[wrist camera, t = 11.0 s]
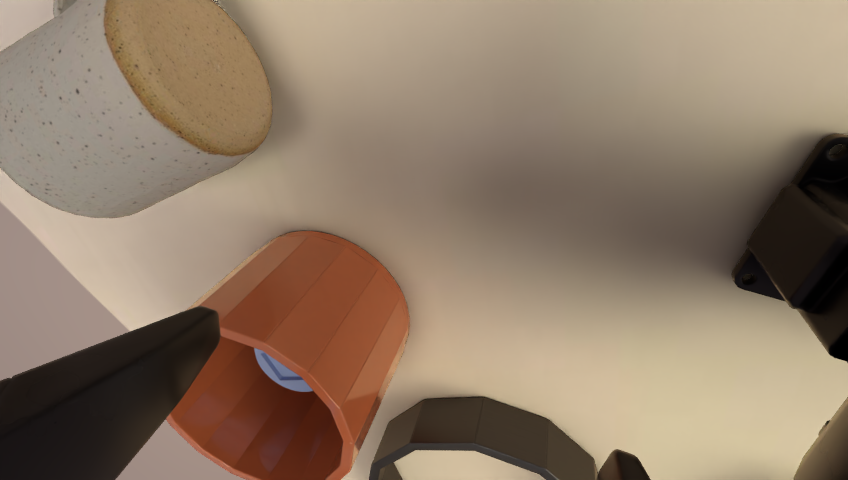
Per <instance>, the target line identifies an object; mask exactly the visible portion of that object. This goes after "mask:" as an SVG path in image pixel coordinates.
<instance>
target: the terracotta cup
mask: <svg viewBox="0 0 848 480" xmlns="http://www.w3.org/2000/svg"><path fill="white" fill-rule="evenodd" d="M197 306H205V307H208V308H211V309H213V310H216V311H217V312H218V315H219V324H220V334H221V337H220V341H219V344H218V346H217V348H216V349H215V351H214V352H213V354H212V355H211V356H210V358H209V359H208V361H207V362H206V364H205V365H204V367H203V368H202V370H201V371H200V373H199V374H198V376H197V377H196V379H195V380H194V382H193V383H192V385H191V386H190V388H189V389H188V390H187V392H186V393H185V395H184V396H183V398H182V399H181V400H180V402H179V403H178V404H177V406H176V407H175V408H174V409H173V411H172V412H171V413H170V414H169V416H168V417H167V418H166V420H167V421H168V423H169V424H170V425H171V426H172V427H173V428H174V429H175V430H176V431H177V432H178V433H179V434H180V435H181V436H182V437H183V438H184V439H185V440H186V441H187V442H188V443H189V444H190V445H191V446H192V447H194V448H195V449H196V450H197V451H198V452H199V453H201V454H202V455H204V456H205V457H207V458H208V459H210V460H212V461H213V462H214V463H216V464H218V465H219V466H221V467H222V468H224V469H225V470H227V471H229V472H230V473H232V474H234V475H236V476H239V477H241V478H244V479H246V480H341V479H342V478H343V477H344V476H345V475H346V474H348V473H349V472H350V470H351V468H352V466H353V464H354V462H355V459H356V457H357V455H358V453H359V450H360V448H361V446H362V444H363V442H364V439H365V437H366V435H367V433H368V430H369V428H370V426H371V424H372V421H373V419H374V417H375V415H376V412H377V410H378V408H379V406H380V404H381V401H382V399H383V397H384V395H385V392H386V390H387V388H388V386H389V383H390V381H391V379H392V377H393V375H394V372H395V370H396V368H397V366H398V363H399V361H400V359H401V357H402V354H403V351H404V346H405V344H406V342H407V338H408V335H409V328H410V320H409V312H408V307H407V304H406V301H405V298H404V296H403V294H402V292H401V290H400V288H399V286H398V284H397V283H396V281H395V280H394V278H393V277H392V276H391V274H390V273H389V272H388V271H387V270H386V268H385V267H384V266H383V265H382V264H381V263H380V262H379V261H378V260H376V259H375V258H374V257H373V256H371V255H370V254H369V253H368V252H366V251H365V250H363V249H362V248H360V247H358V246H357V245H355V244H353V243H351V242H349V241H347V240H345V239H342V238H340V237H337V236H334V235H331V234H327V233H322V232H315V231H297V232H290V233H287V234H284V235H280V236H278V237H276V238H274V239H272V240H271V241H270V242H268V243H267V244H266V245H265V246H263V247H262V248H260V249H259V250H257V251H255V252H254V253H253V254H252V255H251V256H249V257H248V258H247V259H246V260H245V261H244V262H242V263H241V264H240V265H239V266H238V267H236V268H235V269H234V270H233V271H232V272H231V273H229V274H228V275H227V276H226V277H225V278H223V279H222V280H221V281H220V282H219V283H218V284H216V285H215V286H214V287H213V288H212V289H210V290H209V291H208V292H207V293H206V294H205V295H203V296H202V297H201V298H200V299H199V300H197V301H196V302H195V303H194V304H193V305H192V306H190V307H189V308H188V309H187V310H189V309H191V308H194V307H197ZM254 348H256V349H259V350H262V351H263V352H265V353H266V354H268V355H269V356H271V357H272V358H274V359H275V360H277V361H278V362H280V363H281V364H283V365H284V366H285V367H287V368H288V369H290V370H291V371H293V372H294V373H296V374H297V375H299V376H300V377H302V378H303V380H304V381H305V382H306V383H307V384H308V385H309V386H310V388H311V389H312V390H313V391H310V392H299V391H294V390H290V389H288V388H285V387H283V386H281V385H279V384H278V383H276V382H275V381H273V380H272V379H271V378H270V377H269V376H268V375H267V374H266V373H265V372H264V371H263V370H262V368H261V367H260V365H259V364H258V361H257V359H256V355H255V351H254Z"/></svg>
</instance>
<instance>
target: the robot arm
mask: <svg viewBox="0 0 848 480" xmlns="http://www.w3.org/2000/svg"><path fill="white" fill-rule="evenodd" d="M838 144H842V148H841V150H840V151H839V152H838V153H836V154H834V155H829V152H830V149H832V148H833V147H834V146H836V145H838ZM747 245H748V249H747V250H746V252H745V253H744V255H743V256H742V258H741V259H740V261H739V262H738V264H737V265H736V267H735V268H734V270H733V272H732V279H733V281H734V282H735V284H736V285H737V286H738V287H739V288H741V289H744V290H747V291H751V292H754V293H758V294H762V295H765V296H769V297H772V298H776V299H779V300H783V301H786V302H787V303H788V305H789V306H790V307H791V308H793V309H797V310H798V311H799V313H800V314H801V316H802V317H803V318H804V320H805V321H806V323H807V324H808V325H809V327H810V328H811V330H812V331H813V332H814V334H815V335H816V336H817V338H818V339H819V341H820V342H821V343H822V345H823V346H824V348H825V349H826V350H827V352H828V353H829V355H831V356H833V357H834V358H837V359H841V360H844V361H847V363H848V135H844V134H833V135H829V136H827V137H825V138H823V139H822V140H821V141H820V142H819V143H818V144H817V145H816V147H815V148H814V150H813V151H812V153H811V154H810V156H809V157H808V159H807V160H806V162H805V163H804V165H803V166H802V168H801V169H800V171H799V172H798V174H797V175H796V177H795V178H794V180H793V181H792V183H791V184H790V185H789V186H787V187H785V188H783V189H782V190H781V192H780V193H779V195H778V196H777V198H776V199H775V201H774V202H773V204H772V205H771V207H770V208H769V210H768V211H767V213H766V214H765V216H764V217H763V219H762V220H761V222H760V223H759V225H758V226H757V228H756V229H755V231H754V233H753V234H752V236H751V237H750V239H749V240H748V242H747ZM747 274H753V276H752V277H751V278H749V279H742V277H744V276H745V275H747ZM220 337H221V334H220V324H219V315H218V312H217V311H216V310H213V309H211V308H208V307H205V306H197V307H194V308H191V309H189V310H186V311H183V312H181V313H178V314H176V315H173V316H170V317H168V318H165V319H162V320H160V321H157V322H154V323H152V324H149V325H147V326H144V327H141V328H139V329H136V330H133V331H131V332H128V333H125V334H123V335H120V336H118V337H115V338H112V339H110V340H107V341H104V342H102V343H99V344H96V345H94V346H91V347H88V348H86V349H83V350H81V351H78V352H75V353H73V354H70V355H67V356H65V357H62V358H60V359H57V360H54V361H52V362H49V363H46V364H44V365H41V366H39V367H36V368H33V369H30V370H28V371H25V372H22V373H20V374H17V375H15V376H13V377H12V378H7V379H4V380H1V381H0V480H115V479H116V478H117V477H118V476H119V475H120V473H121V472H122V471H123V470H124V468H125V467H126V466H127V465H128V463H129V462H130V461H131V460H132V459H133V458H134V456H135V455H136V454H137V453H138V452H139V450H140V449H141V448H142V447H143V445H144V444H145V443H146V442H147V441H148V439H149V438H150V437H151V436H152V435H153V434H154V432H155V431H156V430H157V429H158V427H159V426H160V425H161V424H162V423H163V422H164V420H165V419H166V418H167V417H168V416H169V414H170V413H171V412H172V411H173V409H174V408H175V407H176V406H177V404H178V403H179V402H180V400H181V399H182V398H183V396H184V395H185V393H186V392H187V390H188V389H189V388H190V386H191V385H192V383H193V382H194V380H195V379H196V377H197V376H198V374H199V373H200V371H201V370H202V368H203V367H204V365H205V364H206V362H207V361H208V359H209V358H210V356H211V355H212V354H213V352H214V351H215V349H216V348H217V346H218V344H219V341H220ZM597 480H651V479H650V478H649V476H648V474H647V473H646V471H645V469H644V467H643V466H642V464H641V462H640V461H639V459H638V458H637V457H636V456H635V455H633V454H630V453H627V452H624V451H621V450H618V449H616V450H614V451H613V452H612V453H611V454H610V456H609V457H608V459H607V460H606V462H605V463H604V465H603V466H602V468H601V469H600V471H599V473H598V476H597ZM794 480H848V397H847V399H846V400H845V401H844V403H843V404H842V405H841V407H840V408H839V409H838V411H837V412H836V413H835V415H834V416H833V418H832V419H831V420H829V421H827V422H826V423H825V425H824V426H823V428H822V429H821V430H820V432H819V437H818V438H817V439H816V441H815V442H814V443H813V445H812V446H811V448H810V449H809V450H808V452H807V453H806V454H805V456H804V457H803V459H802V461H801V463H800V465H799V468H798V470H797V472H796V474H795V476H794Z"/></svg>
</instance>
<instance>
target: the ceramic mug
mask: <svg viewBox="0 0 848 480" xmlns="http://www.w3.org/2000/svg"><path fill="white" fill-rule="evenodd" d="M53 11H54V19H52V20H50V21H49V22H47V23H46V24H44V25H42V26H41V27H39V28H37V29H36V30H34V31H32V32H30V33H29V34H27V35H26V36H24V37H23V38H21V39H20V40H18V41H17V42H15V43H14V44H12V45H11V46H9V47H7V48H6V49H4V50H3V51H1V52H0V168H1V169H2V170H3V171H4V172H5V173H6V174H7V175H8V176H9V177H10V178H11V179H12V180H13V181H14V182H15V183H16V184H18V185H19V186H20V187H22V188H23V189H25V190H26V191H27V192H28V193H29V194H31V195H32V196H34V197H36V198H37V199H39V200H41V201H43V202H45V203H47V204H48V205H50V206H52V207H55V208H57V209H60V210H63V211H66V212H69V213H72V214H76V215H81V216H87V217H93V218H117V217H123V216H128V215H131V214H134V213H137V212H139V211H141V210H144V209H146V208H148V207H150V206H152V205H154V204H156V203H158V202H160V201H162V200H164V199H166V198H168V197H170V196H172V195H174V194H177V193H179V192H181V191H183V190H185V189H187V188H189V187H191V186H193V185H195V184H197V183H198V182H201V181H203V180H205V179H207V178H209V177H212V176H214V175H216V174H218V173H221V172H223V171H225V170H227V169H229V168H231V167H233V166H235V165H236V164H238V163H239V162H240V161H242V160H243V159H244V158H246V157H247V156H248V155H250V154H251V153H252V152H254V151H255V150H256V149H257V148H258V147H259V146H260V144H261V143H262V142H263V141H264V139H265V138H266V135H267V133H268V131H269V128H270V125H271V118H272V102H271V93H270V87H269V83H268V80H267V77H266V74H265V72H264V69H263V67H262V64H261V62H260V60H259V58H258V56H257V54H256V52H255V50H254V49H253V47H252V46H251V44H250V43H249V41H248V40H247V38H246V36H245V35H244V33H243V32H242V31H241V29H240V28H239V27H238V26H237V24H236V23H235V22H234V21H233V20H232V19H231V18H230V17H229V16H228V15H227V14H226V13H225V11H224V10H223V9H221V8H220V7H219V6H218V5H217V4H215V3H214V2H213V1H212V0H54V4H53Z"/></svg>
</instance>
